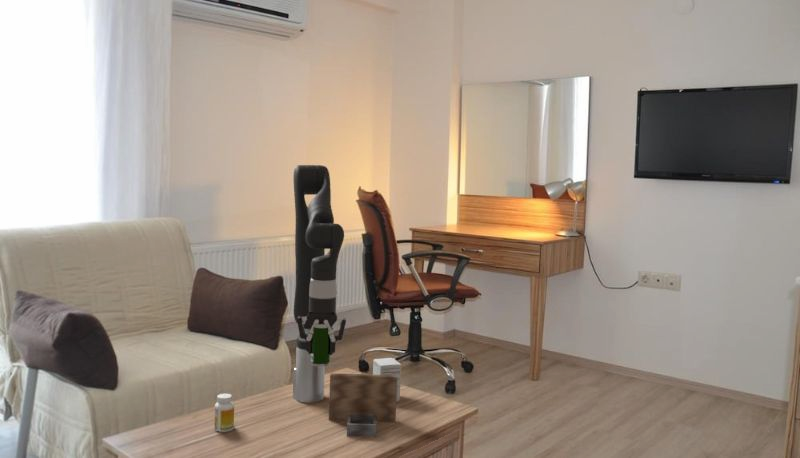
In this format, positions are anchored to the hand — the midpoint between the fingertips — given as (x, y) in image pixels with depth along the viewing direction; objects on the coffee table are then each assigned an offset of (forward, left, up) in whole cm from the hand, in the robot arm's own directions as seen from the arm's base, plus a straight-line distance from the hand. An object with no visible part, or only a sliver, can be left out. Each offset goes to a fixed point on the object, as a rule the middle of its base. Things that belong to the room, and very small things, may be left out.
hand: (320, 353), depth 193 cm
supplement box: (-2, +35, -24) cm, 42 cm away
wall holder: (+7, +11, -23) cm, 27 cm away
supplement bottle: (-23, -15, -24) cm, 36 cm away
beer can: (0, 0, -3) cm, 3 cm away
